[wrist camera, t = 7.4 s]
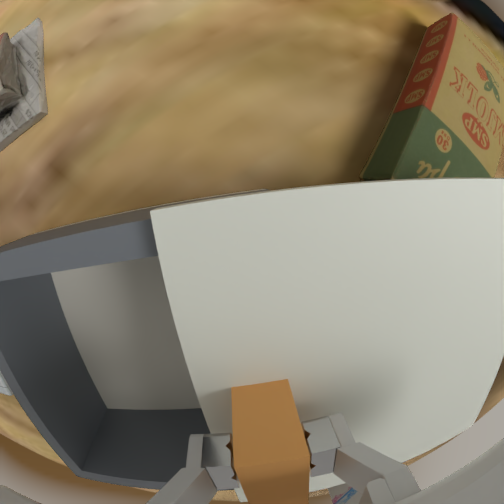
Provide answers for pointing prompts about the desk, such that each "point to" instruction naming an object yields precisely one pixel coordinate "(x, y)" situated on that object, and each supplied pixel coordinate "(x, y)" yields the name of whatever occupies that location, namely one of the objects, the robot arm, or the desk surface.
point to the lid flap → (337, 317)
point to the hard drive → (4, 386)
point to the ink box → (344, 494)
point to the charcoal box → (99, 348)
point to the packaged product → (21, 82)
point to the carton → (444, 111)
